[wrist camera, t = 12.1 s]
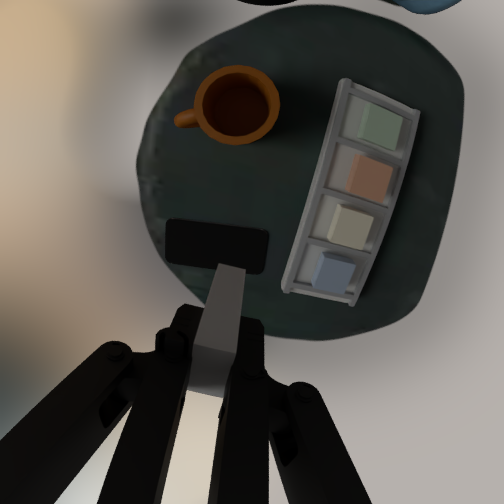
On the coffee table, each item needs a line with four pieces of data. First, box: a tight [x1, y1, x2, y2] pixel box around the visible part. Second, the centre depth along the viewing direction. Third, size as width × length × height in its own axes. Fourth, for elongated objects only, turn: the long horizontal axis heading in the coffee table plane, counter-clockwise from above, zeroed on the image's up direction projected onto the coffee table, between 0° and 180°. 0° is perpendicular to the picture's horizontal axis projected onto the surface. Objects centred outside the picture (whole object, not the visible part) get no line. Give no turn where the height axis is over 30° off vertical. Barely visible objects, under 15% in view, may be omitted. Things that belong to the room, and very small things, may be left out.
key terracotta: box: [345, 154, 393, 203], centre depth 32 cm, size 5×5×2 cm
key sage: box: [357, 103, 403, 151], centre depth 30 cm, size 5×5×2 cm
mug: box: [174, 65, 280, 145], centre depth 30 cm, size 9×12×9 cm
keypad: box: [281, 78, 421, 307], centre depth 36 cm, size 31×12×3 cm, turn 166°
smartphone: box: [165, 218, 268, 275], centre depth 41 cm, size 7×1×15 cm
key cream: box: [327, 204, 374, 250], centre depth 35 cm, size 5×5×2 cm
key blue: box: [311, 252, 356, 295], centre depth 38 cm, size 5×5×2 cm
